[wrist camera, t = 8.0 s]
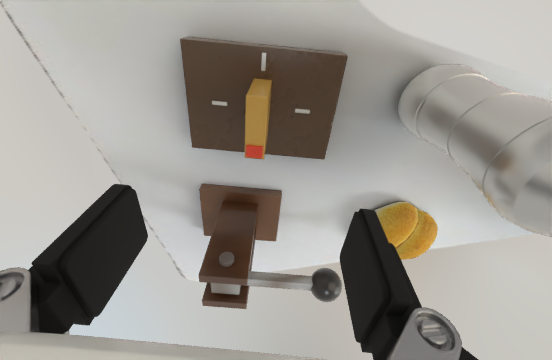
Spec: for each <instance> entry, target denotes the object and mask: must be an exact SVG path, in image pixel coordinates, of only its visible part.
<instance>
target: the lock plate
mask: <svg viewBox="0 0 552 360" xmlns="http://www.w3.org/2000/svg"><path fill="white" fill-rule="evenodd" d="M180 42H181V51H182V59H183V68H184V77H185V86H186V95H187V104H188V113H189V122H190V131H191V140H192V147H194V148H205V149H216V150H227V151H238V152H245V114H246V95H247V93H248V90H249V88H250V86H251V84H252V82H253V80H254V78H256V79H265V80H272V85H271V98H270V111H269V124H268V135H267V142H266V149H265V154H271V155H282V156H293V157H304V158H315V159H325V155H326V150H327V146H328V141H329V137H330V133H331V128H332V124H333V119H334V115H335V110H336V106H337V101H338V97H339V92H340V88H341V83H342V79H343V74H344V70H345V65H346V61H347V55H345V54H344V53H342V52H332V51H323V50H313V49H303V48H293V47H283V46H273V45H264V44H254V43H244V42H234V41H224V40H214V39H204V38H195V37H186V38H182V39H180Z"/></svg>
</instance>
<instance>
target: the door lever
mask: <svg viewBox="0 0 552 360" xmlns="http://www.w3.org/2000/svg"><path fill="white" fill-rule="evenodd" d="M245 286H246V285H245ZM247 286H259V287H271V288H283V289H296V290H309V291H312V293H313V295H314V296H315V297H316V298H317V299H319V300H320V301H323V302H331V301H333V300H335V299H336V298H337V297H338V296H339V295H340V293H341V289H342V283H341V280H340V278H339V276H338V274H337V273H336V272H335V271H333V270H331V269H329V268H320V269H318V270H316V271H315V272H314V273H313V274H312V276H302V275H290V274H278V273H265V272H253V271H249V277H248V284H247ZM240 288H241V285H233V284H220V283H211V292H212V293H222V294H235V295H239V294H240Z"/></svg>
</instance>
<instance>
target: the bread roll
mask: <svg viewBox="0 0 552 360" xmlns="http://www.w3.org/2000/svg"><path fill="white" fill-rule="evenodd" d="M375 211H376V213H377V216H378V218H379V220H380V223H381V225H382V227H383V230H384V232H385V234H386V237H387V239H388V242H389V243H392V244H393V245H394V246H395V248H396V250H397V252H398V255H399V257H400V259H401V260H402V259H412V258H416V257H417V256H419V255H421V254H422V253H424V252H426V251H427V250H428V249H429V248H430V246H431V245H432V244H433V242H434V240H435V238H436V236H437V224H436V222H435V221H434V219H433V218H432V217H431V216H430V215H429V214H428V213H426V212H423V211H421V210H419V209H417V208H415V207H414V206H413V205H412V204H409V203H407V202H396V203H392V204H389V205H387V206H384V207H381V208H378V209H376V210H375Z"/></svg>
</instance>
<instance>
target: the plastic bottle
mask: <svg viewBox="0 0 552 360" xmlns="http://www.w3.org/2000/svg"><path fill="white" fill-rule="evenodd" d="M398 112H399V117H400V119H401V121H402V123H403V125H404V127H405V128H406V129H407V130H408V131H409V132H410V133H412V134H413V135H415V136H417V137H418V138H420V139H423V140H425V141H428V142H430V143H431V144H433V145H435V146H436V147H438V148H439V149H441V150H442V151H444V152H445V153H447V154H448V155H449V156H450V157H451V158H452V159H453V160H454V161H455V162H456V163H457V164H458V165H459V166H460V167H461V168H462V169H463V170H464V171H465V172H466V173H467V174H468V175H469V176H470V178H471V179H472V180H473V182H474V183H475V184H476V186H477V187H478V188H479V189H480V191H481V192H482V193H483V195H484V196H485V197H486V199H487V200H488V201H489V203H490V204H491V205H492V206H493V207H494V208H495V210H496V211H497V212H498V213H499V214H500V215H501V216H502V217H503V218H505V219H506V220H508V221H510V222H512V223H514V224H516V225H518V226H520V227H522V228H524V229H526V230H529V231H531V232H534V233H538V234H542V235H546V236H550V237H552V101H548V100H544V99H540V98H536V97H533V96H528V95H524V94H521V93H517V92H513V91H510V90H508V89H506V88H504V87H502V86H500V85H498V84H496V83H494V82H492V81H489V80H488V79H487V78H486V77H485V76H484V75H482V74H481V73H479V72H478V71H476V70H474V69H472V68H470V67H468V66H465V65H460V64H448V65H438V66H434V67H431V68H429V69H426V70H425V71H423V72H421V73H420V74H418V75H417V76H416V77H415V78H413V79H412V80H411V82H410V83H409V84H408V85H407V86H406V88H405V89H404V91H403V93H402V95H401V97H400V100H399V104H398Z"/></svg>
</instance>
